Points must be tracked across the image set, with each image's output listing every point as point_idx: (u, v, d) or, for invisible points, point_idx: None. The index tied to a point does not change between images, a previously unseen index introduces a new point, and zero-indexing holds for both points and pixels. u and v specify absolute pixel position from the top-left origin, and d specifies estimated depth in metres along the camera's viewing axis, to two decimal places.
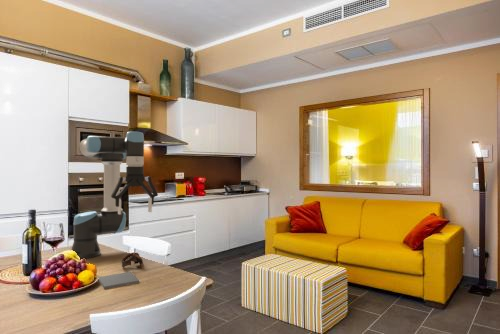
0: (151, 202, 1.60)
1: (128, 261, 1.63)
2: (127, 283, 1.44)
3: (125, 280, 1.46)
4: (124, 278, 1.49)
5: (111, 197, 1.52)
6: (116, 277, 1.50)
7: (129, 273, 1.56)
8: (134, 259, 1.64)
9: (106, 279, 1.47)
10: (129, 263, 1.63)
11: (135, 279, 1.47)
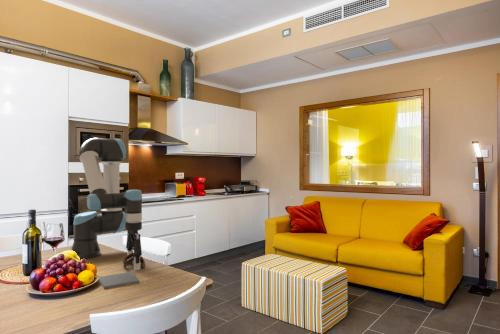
0: (134, 260, 1.63)
1: (130, 261, 1.63)
2: (127, 283, 1.44)
3: (125, 280, 1.46)
4: (124, 278, 1.49)
5: None
6: (116, 277, 1.50)
7: (129, 273, 1.56)
8: None
9: (106, 279, 1.47)
10: (131, 263, 1.63)
11: (135, 279, 1.47)
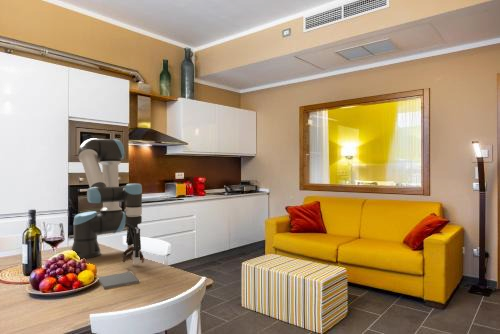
0: (133, 255, 1.64)
1: (129, 255, 1.64)
2: (127, 283, 1.44)
3: (125, 280, 1.46)
4: (124, 278, 1.49)
5: None
6: (116, 277, 1.50)
7: (129, 273, 1.56)
8: None
9: (106, 279, 1.47)
10: (130, 257, 1.64)
11: (135, 279, 1.47)
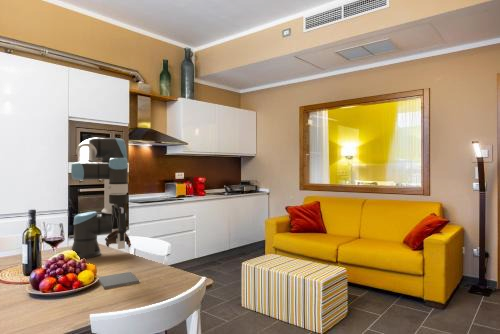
0: (118, 238, 1.43)
1: (113, 238, 1.43)
2: (127, 283, 1.44)
3: (125, 280, 1.46)
4: (124, 278, 1.49)
5: None
6: (116, 277, 1.50)
7: (129, 273, 1.56)
8: None
9: (106, 279, 1.47)
10: (114, 241, 1.43)
11: (135, 279, 1.47)
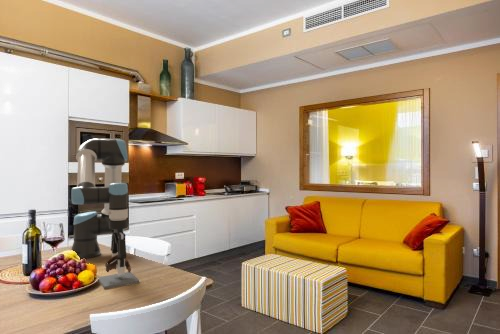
0: (118, 264, 1.43)
1: (113, 264, 1.43)
2: (127, 283, 1.44)
3: (125, 280, 1.46)
4: (124, 278, 1.49)
5: None
6: (116, 277, 1.50)
7: (129, 273, 1.56)
8: None
9: (106, 279, 1.47)
10: (114, 267, 1.43)
11: (135, 279, 1.47)
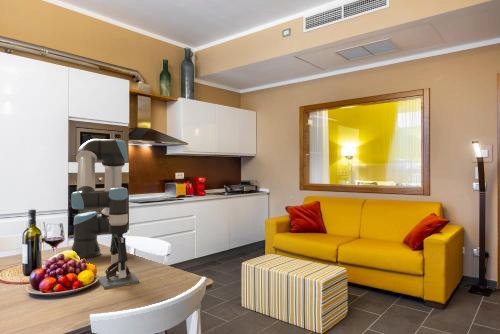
0: None
1: (113, 271, 1.43)
2: (127, 283, 1.44)
3: (125, 280, 1.46)
4: (124, 278, 1.49)
5: None
6: (116, 277, 1.50)
7: None
8: None
9: (106, 279, 1.47)
10: (114, 274, 1.43)
11: (135, 279, 1.47)
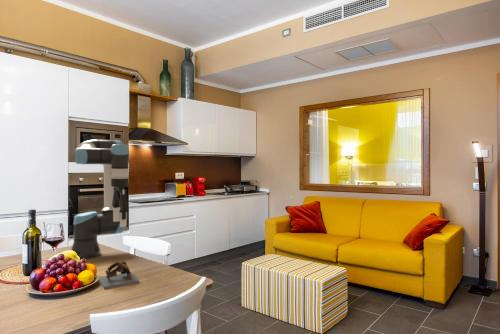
0: (120, 217, 1.53)
1: (113, 272, 1.43)
2: (127, 283, 1.44)
3: (125, 280, 1.46)
4: (124, 278, 1.49)
5: None
6: (116, 277, 1.50)
7: None
8: (120, 269, 1.45)
9: (106, 279, 1.47)
10: (114, 274, 1.43)
11: (135, 279, 1.47)
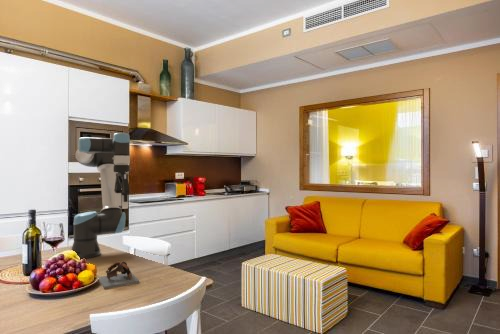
0: (122, 199, 1.66)
1: (114, 272, 1.43)
2: (127, 283, 1.44)
3: (125, 280, 1.46)
4: (124, 278, 1.49)
5: None
6: (116, 277, 1.50)
7: None
8: (120, 269, 1.45)
9: (106, 279, 1.47)
10: (115, 274, 1.43)
11: (135, 279, 1.47)
